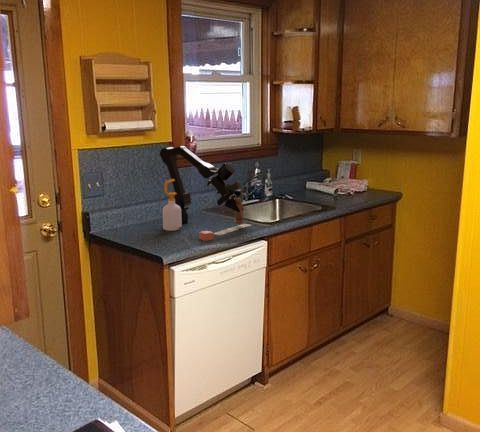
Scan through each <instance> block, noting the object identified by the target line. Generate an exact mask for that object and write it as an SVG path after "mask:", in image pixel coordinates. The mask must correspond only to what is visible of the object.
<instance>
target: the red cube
mask: <svg viewBox="0 0 480 432" xmlns="http://www.w3.org/2000/svg"><path fill="white" fill-rule="evenodd" d="M213 233H214V232H213V231H210V230H205V231H204V230H202V231H199V233H198V234H199V240H202V241H203V242H204V241H212V240H214V234H213Z"/></svg>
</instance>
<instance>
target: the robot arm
mask: <svg viewBox="0 0 480 432" xmlns="http://www.w3.org/2000/svg"><path fill="white" fill-rule="evenodd" d="M179 155H180V157H182V158H183V159H184V160H186V161H187V162H188V163H190V164H191V165H192V166H193V167H194V168H196V170H197V171H198V173H199V174H200V176H202V178H204V179H208V180H207V184H206V185H207V186H208V187H210V186H212V187H214V189H215V190H216V194H217V195H220V197H219V198H218V199H217V200H216V205H217V206H218V207H222V206H223V207H226V208H228V209H230V210H233V211H234V212H235V211H237V212H240V210H239V208H238V206H237V205H236V199H237V198H241V197H242V196H243V195H244V194H245V192H244V191H243V190H242V188H243V187H242V185H243V184H242V182H241V181H240V180H236V181H234V182H233V183H232V184H230V183H226V182H225V181H229V179H231V178H232V177H233V175H234V174H235V173H236V169H235V168H234V167H233V166H231V165H230V164H228V163H227V162H225V163H223V164H222V165H221V167H219V168H217V167H216V166H214V165H212V164H211V163H209V162H206V161H203V160H202V159H201V158H200V157H198V155H197V154H194V153H193V152H192V151H191V150H189V149H188V148H187V147H186V146H184V145H181V146H177V147H173V146H169V147H163V148H161V149H160V151H159V156H160V158H161V161H162V162H163V163H164V164H165V165H166V167H167V171H168V174H169V177H170V180H171V179H175V181H173V182H171V183H172V187H173V190H174V192H175V193H177V194H176V195H174V196H173V199H175V204H177V205H178V206H180V208H181V220H182V224H188V223H189V214H188V212H187V211H188V210H189V208H190V206H191V204H192V200H193V198H191V197H192V196H191V194H190V192H187V191H186V190H185V187H184V184H183V182H182V178H181V175H180V172H179V168H178V165H177V160H178V156H179ZM223 204H224V205H223ZM243 211H244V207H243Z"/></svg>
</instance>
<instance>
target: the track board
mask: <svg viewBox="0 0 480 432" xmlns="http://www.w3.org/2000/svg"><path fill="white" fill-rule="evenodd" d="M246 227H251V224H247V223H242V224H239V225H236V226H233V227H230V228H226V229H223V230H219V231H216V232H213V235H217V236H222V235H225V234H228V233H231V232H234V231H239V230H241V229H244V228H246Z"/></svg>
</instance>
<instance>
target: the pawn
mask: <svg viewBox="0 0 480 432" xmlns="http://www.w3.org/2000/svg"><path fill="white" fill-rule="evenodd" d="M236 205H237V206H238V208H239V210H240V212H237V211H235V210H234V221H233V222H234V224H239V225H242V224H244V219H243V217H244V216H243V212H244V210H243V208H244V205H243V199H242V198H241V197H240V198H237V199H236Z"/></svg>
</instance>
